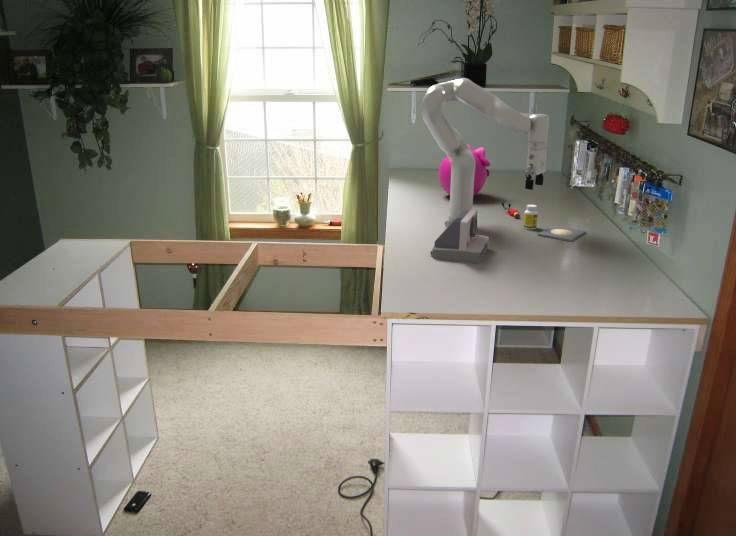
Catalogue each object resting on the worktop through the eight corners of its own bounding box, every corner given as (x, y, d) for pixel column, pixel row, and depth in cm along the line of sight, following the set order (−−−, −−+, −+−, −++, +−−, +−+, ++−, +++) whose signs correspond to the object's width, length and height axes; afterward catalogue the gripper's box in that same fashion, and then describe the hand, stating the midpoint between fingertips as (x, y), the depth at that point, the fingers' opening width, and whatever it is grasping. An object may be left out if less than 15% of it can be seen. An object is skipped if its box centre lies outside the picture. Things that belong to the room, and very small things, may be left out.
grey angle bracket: (475, 266, 232) (478, 225, 227) (422, 256, 242) (424, 217, 237) (495, 250, 250) (498, 211, 245) (445, 241, 259) (447, 204, 254)
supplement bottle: (533, 230, 273) (536, 207, 270) (521, 228, 276) (523, 206, 273) (538, 227, 278) (540, 205, 274) (525, 225, 280) (527, 203, 277)
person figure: (511, 199, 307) (521, 209, 290) (513, 207, 308) (523, 217, 291) (500, 203, 307) (510, 213, 290) (502, 211, 308) (512, 221, 291)
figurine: (496, 198, 326) (499, 148, 317) (459, 205, 313) (462, 152, 305) (464, 189, 344) (466, 141, 336) (428, 195, 331) (430, 145, 323)
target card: (571, 241, 259) (571, 239, 259) (537, 235, 267) (537, 233, 267) (585, 232, 271) (585, 230, 271) (553, 226, 279) (553, 224, 279)
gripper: (537, 149, 257) (533, 192, 262) (554, 143, 270) (551, 184, 275) (519, 147, 261) (516, 189, 267) (537, 141, 274) (534, 182, 280)
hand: (534, 187), depth 271 cm, fingers open, 9 cm apart
